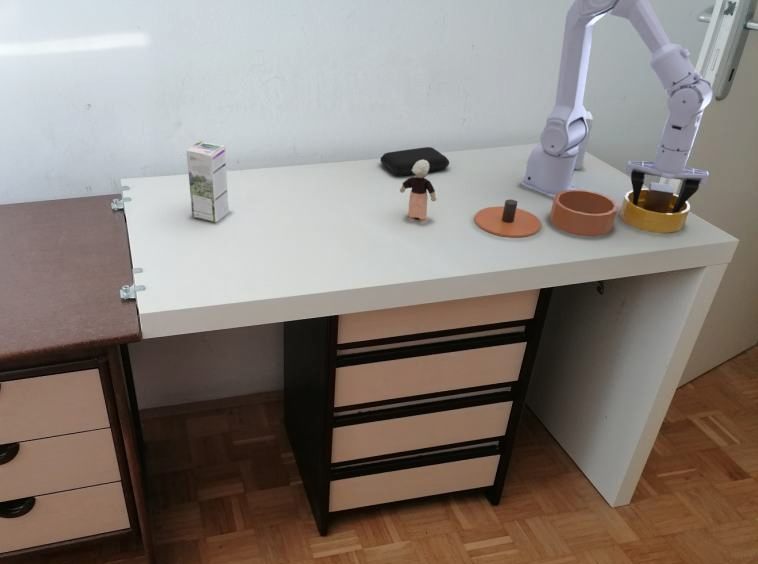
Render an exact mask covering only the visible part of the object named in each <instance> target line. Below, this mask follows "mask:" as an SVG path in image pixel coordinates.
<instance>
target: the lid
mask: <svg viewBox="0 0 758 564" xmlns="http://www.w3.org/2000/svg"><path fill="white" fill-rule="evenodd" d="M517 207H518V201H517V200H516V199H511V198H510V199H505V201H504V205H501V206H497V205H496V206H488V207H485V208H482V209H480V210H478V211H477V212H476V213H475V215H474V223H475V224H476V226H477V227H478V228H480V229H481V230H483V231H484V232H487V233H489V234H492V235H495V236H500V237H504V238H526V237H531V236H533V235H536V234H537V233H539V231H540V230H541V227H542V222H541V220H540V219H539V218H538V217H537V216H536V215H535V214H533V213H532V212H529V211H526V210H524V209H521V208H517Z"/></svg>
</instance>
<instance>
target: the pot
mask: <svg viewBox="0 0 758 564" xmlns="http://www.w3.org/2000/svg"><path fill="white" fill-rule="evenodd" d="M552 200H553V201H552V205H551V209H550V213H549V221H550V223H551V225H553V226H554V227H555V228H557V229H558V230H560V231H563V232H564V233H567V234H572V235H576V236H580V237H581V236H582V237H599V236H604V235H607V234H608V233H610V232H612V229H613V226H614V223H615V220H616V216H617V213H618V210H619V205H618V204H617V202H616V200H614V199H613V198H611V197H610V196H608V195H605V194H603V193H600V192H597V191H592V190H586V189H577V190H566V191H562V192H560V193H557V194H556V196H555V197H553V199H552Z"/></svg>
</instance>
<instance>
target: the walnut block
mask: <svg viewBox="0 0 758 564" xmlns="http://www.w3.org/2000/svg"><path fill="white" fill-rule="evenodd" d="M647 189H648V192H647V195H646V198H645V201H644V205H643V209H645V210H648V211H653V212H658V213H667V211H668V208H669V205H670V202H671V199H672V196H673V194H674V185H673V184H668V183H662V182H655V181H650V183H649V186H648V188H647Z"/></svg>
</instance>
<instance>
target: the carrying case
mask: <svg viewBox="0 0 758 564" xmlns="http://www.w3.org/2000/svg"><path fill="white" fill-rule="evenodd" d="M419 160H426V161H428V163H429V167H430V168H429V171H428V173H431V172H436V171H441V170H445V169H446V168H448V167H449V165H450V160H449V159H448V157H446V156H445V154H442V153H441V152H440V151H438V150H437V149H435V148H434V147H431V146H425V147H418V148H410V149H403V150H395V151H389V152H385V153H383V154H382V156H381V157H380V159H379V161H380V163H381V164H382V165H383V166H384V167H385V168H386V169H388V170H389V171H390V172H391V173H393V174H394V175H395V176H399V177H404V176H409V175H415V173H413V172H412V169H413V166H414V165H415V163H416V162H418V161H419Z"/></svg>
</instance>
